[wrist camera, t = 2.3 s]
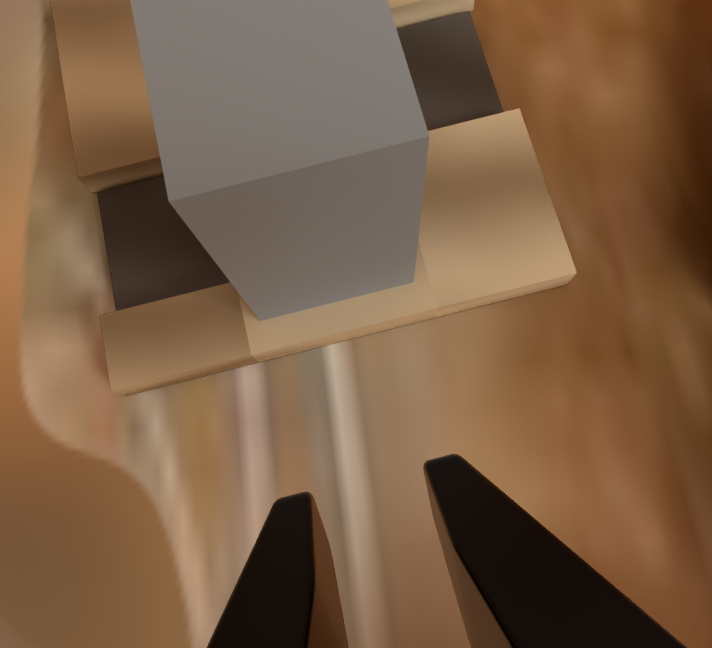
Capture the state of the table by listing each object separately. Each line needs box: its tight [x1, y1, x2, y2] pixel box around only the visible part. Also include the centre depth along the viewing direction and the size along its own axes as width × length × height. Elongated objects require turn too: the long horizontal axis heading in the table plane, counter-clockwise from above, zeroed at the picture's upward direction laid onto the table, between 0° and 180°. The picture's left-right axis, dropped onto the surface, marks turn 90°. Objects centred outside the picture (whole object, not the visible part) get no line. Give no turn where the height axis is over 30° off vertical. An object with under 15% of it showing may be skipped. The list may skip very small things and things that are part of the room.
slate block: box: [130, 0, 429, 321], centre depth 17 cm, size 5×5×9 cm
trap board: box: [50, 0, 577, 396], centre depth 23 cm, size 20×15×3 cm
